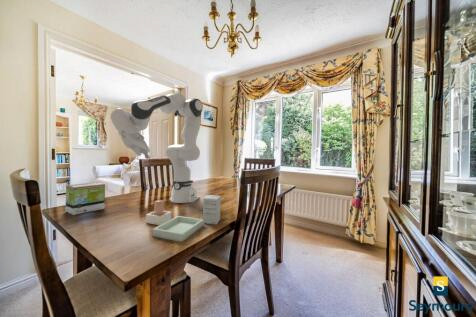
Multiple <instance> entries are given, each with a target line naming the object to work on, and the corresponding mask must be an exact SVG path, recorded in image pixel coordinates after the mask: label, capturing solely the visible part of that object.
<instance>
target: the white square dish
mask: <svg viewBox="0 0 476 317" xmlns="http://www.w3.org/2000/svg"><path fill="white" fill-rule="evenodd" d="M171 219H172V211H170V210H169V211H167V210H164V214H163V215H161V216H157V215H154V210H153V211H151V212H149V213H146V214H145V223H146V224H152V225H157V226H159V225H161V224H163V223H165V222H167V221H169V220H171Z"/></svg>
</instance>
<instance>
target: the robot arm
mask: <svg viewBox="0 0 476 317" xmlns="http://www.w3.org/2000/svg"><path fill="white" fill-rule="evenodd" d="M203 107H204V105H203V103H202V101H201V100H200V99H199V98H191V99H187V100H186V96H185V95H184V94H183V93H181V92H179V91H178V92H177V91H176V92H172V93H170V94H167V95H158V96H155V97H152V98H148V99H142V100H136V101H134V102H132V104H131V109H130V111H128V110H125V109H123V108H121V107H118V108H116V109H114V110H113V111H111V113H110V120H111V123H112V124H113V126H114V128H115V129H116V130H117V131H118V134H119V136H120V138H121V140H122V143H123V145H124V146H125V147H126V148H127V149H130V150H132V151H133V152H134V153H135V155H136V156H137V157H141V156H142V154H143V155H144V158H145V159H146V160H149V159H150V158H151V157H150V155H149V153H150V152H151V151H150V148H149V145H148V144H147V142H146V141H145V137H144V136H143V135H142V134H141V132H140V131H144V130H146V129H147V128H148V126H149V123H150V119H151V117H152V114H153V112H154V111H155V110H158V109H160V111H161V112H163V113H164V114H167V115H171V114H174V113H176V116H178V117H182V118H185V117H186V120H185V122H184V124H183V128H182V130H181V132H180V137H181V139H182V140H183V143H182V144H175V143H174V144H172V145H168V146H167V147H166V148H165V149H166V150H165V155H166V157H167V158H168V159H169V160H170V163H171V166H172V170H173V180H172V186H173V187H171V193H170V197H169V201H170V202H171V203H174V204H187V203H194V202H196V201H197V200H198V199H199V198H200V195H197V189H196V188H195V187H194V186H193V184H194V180H192V179H191V169H190V167H189V166H188V165H187V164H186V161H187V162H192V161H193V162H194V161H196V160H198V159H199V158H200V155H201V151H200V149H199V147H198V145H197V138H198V135H199V131H200V127H201V123H202V120H201V117H200V116H201V115H202V112H203Z"/></svg>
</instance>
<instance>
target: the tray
mask: <svg viewBox="0 0 476 317" xmlns="http://www.w3.org/2000/svg"><path fill="white" fill-rule="evenodd" d="M204 225H205V223H204V220H203V218H202V219H201V218H197V217H196V218H194V217H189V216H182V215H177V216H175V217H173V218H171V220H169V221H167V222H165V223H163V224H161V225H157V226H156V227H154V228H152V237H155V238H161V239H165V240H170V241H175V242H180V243H183V242H184V241H185V240H187V239H188V238H189V237H191V236H192V235H194V234H196V232H197V231H198V230H200V229H202V227H204Z"/></svg>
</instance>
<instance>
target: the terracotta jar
mask: <svg viewBox="0 0 476 317" xmlns="http://www.w3.org/2000/svg"><path fill="white" fill-rule="evenodd" d="M153 202H154V207H153V208H154V210H153V211H154V215H157V216H161V215H163V214H164V211H165V200H164V199H157V200H155V201H153Z"/></svg>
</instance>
